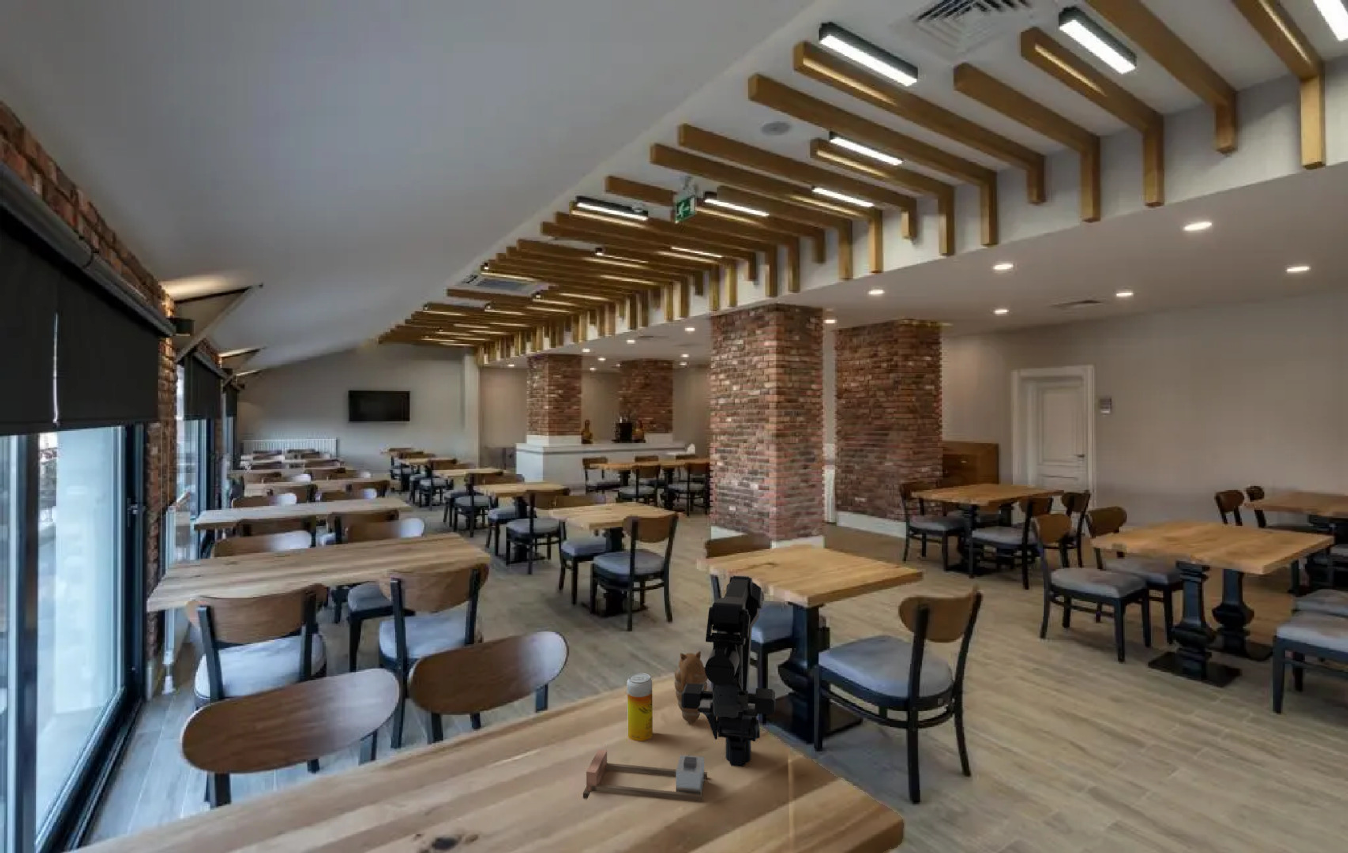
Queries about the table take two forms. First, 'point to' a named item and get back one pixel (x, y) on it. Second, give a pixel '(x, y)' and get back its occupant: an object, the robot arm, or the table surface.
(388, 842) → the table surface
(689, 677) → the cat ice cream
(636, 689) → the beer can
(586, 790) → the guide board
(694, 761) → the block
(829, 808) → the table surface
